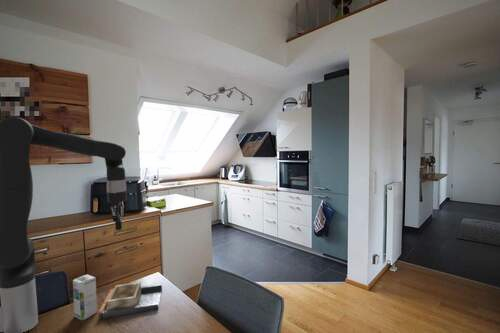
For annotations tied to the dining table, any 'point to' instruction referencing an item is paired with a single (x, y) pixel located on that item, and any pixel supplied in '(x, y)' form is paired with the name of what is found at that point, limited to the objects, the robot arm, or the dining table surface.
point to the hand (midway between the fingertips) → (118, 229)
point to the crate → (124, 296)
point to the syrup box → (84, 296)
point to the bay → (145, 304)
